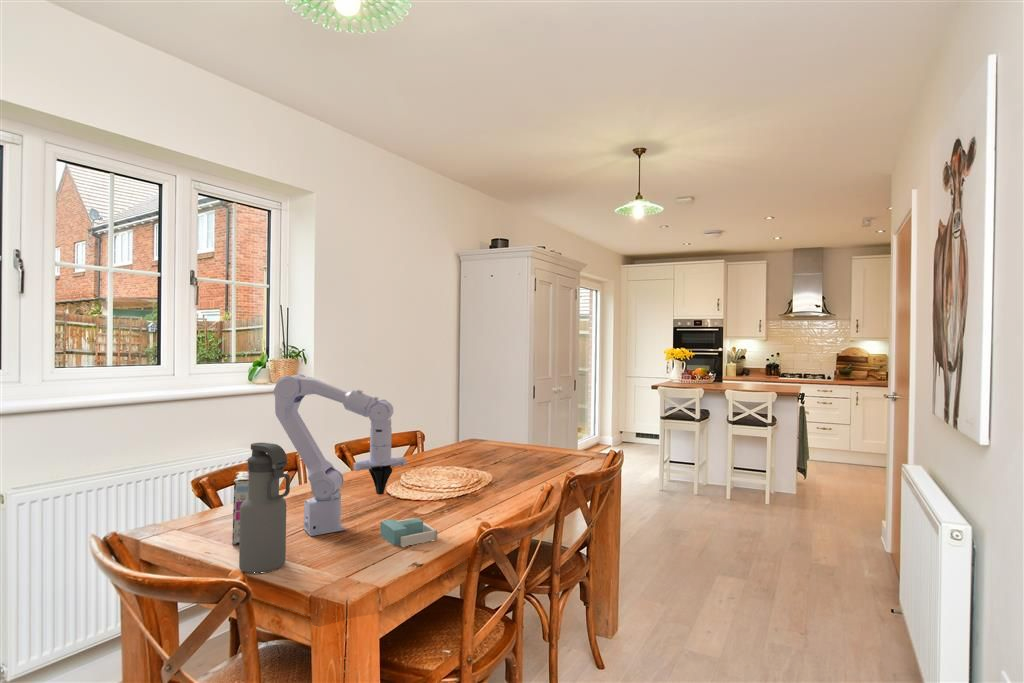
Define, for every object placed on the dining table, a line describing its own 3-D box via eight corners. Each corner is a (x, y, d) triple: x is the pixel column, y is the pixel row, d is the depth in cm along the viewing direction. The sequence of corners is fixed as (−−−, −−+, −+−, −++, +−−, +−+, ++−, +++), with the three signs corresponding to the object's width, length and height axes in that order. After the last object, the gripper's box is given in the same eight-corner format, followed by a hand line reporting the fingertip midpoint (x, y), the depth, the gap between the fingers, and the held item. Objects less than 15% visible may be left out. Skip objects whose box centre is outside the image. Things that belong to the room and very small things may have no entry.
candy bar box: (253, 543, 145) (254, 479, 145) (231, 545, 143) (232, 480, 143) (256, 529, 156) (257, 469, 156) (236, 531, 154) (237, 471, 154)
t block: (393, 546, 145) (394, 530, 145) (380, 536, 152) (380, 521, 152) (427, 539, 150) (427, 524, 150) (413, 529, 157) (413, 515, 157)
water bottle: (296, 562, 133) (297, 443, 133) (262, 578, 124) (264, 450, 124) (263, 555, 137) (265, 439, 137) (229, 570, 128) (231, 446, 128)
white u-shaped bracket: (401, 547, 144) (401, 537, 144) (381, 532, 154) (382, 523, 154) (437, 540, 149) (437, 530, 149) (415, 526, 160) (415, 517, 160)
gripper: (360, 449, 150) (359, 501, 150) (411, 444, 158) (410, 493, 158) (351, 445, 155) (350, 494, 155) (400, 440, 164) (400, 487, 164)
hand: (380, 493), depth 157 cm, fingers closed
